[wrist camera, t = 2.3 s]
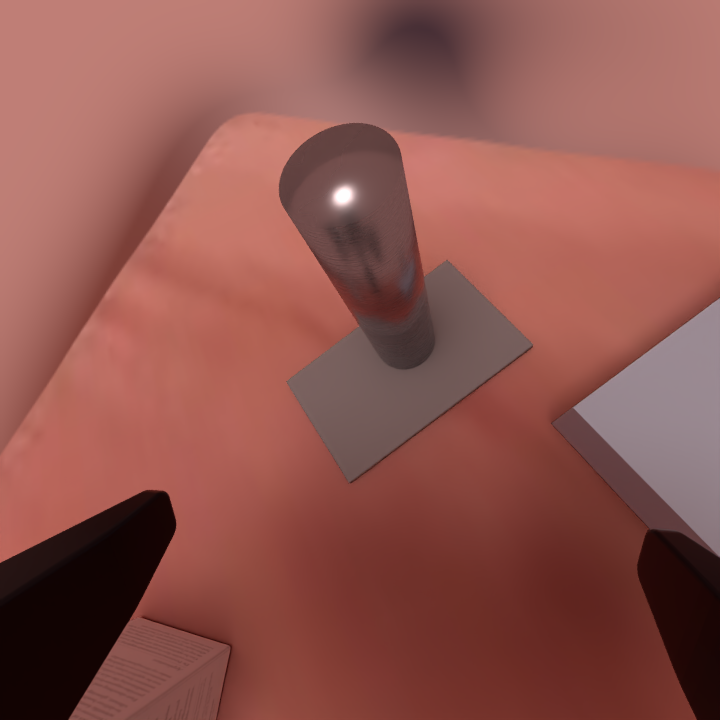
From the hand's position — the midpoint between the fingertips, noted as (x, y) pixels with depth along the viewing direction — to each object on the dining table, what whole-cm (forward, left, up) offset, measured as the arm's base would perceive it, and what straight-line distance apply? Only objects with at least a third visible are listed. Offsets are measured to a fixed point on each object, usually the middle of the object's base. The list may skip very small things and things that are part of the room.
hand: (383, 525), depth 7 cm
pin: (+4, +8, -12) cm, 15 cm away
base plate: (+3, +7, -13) cm, 15 cm away
